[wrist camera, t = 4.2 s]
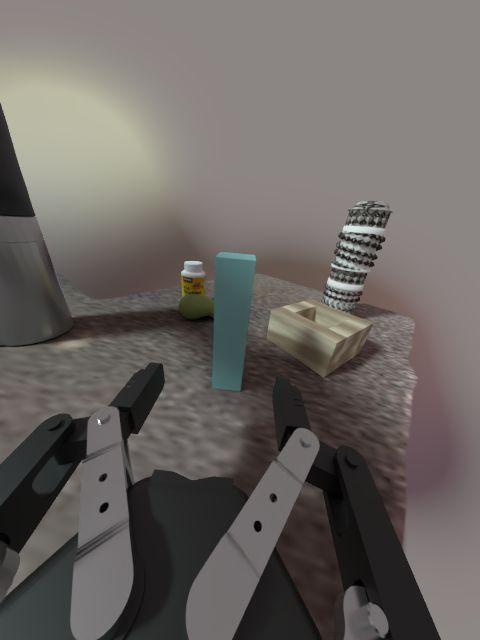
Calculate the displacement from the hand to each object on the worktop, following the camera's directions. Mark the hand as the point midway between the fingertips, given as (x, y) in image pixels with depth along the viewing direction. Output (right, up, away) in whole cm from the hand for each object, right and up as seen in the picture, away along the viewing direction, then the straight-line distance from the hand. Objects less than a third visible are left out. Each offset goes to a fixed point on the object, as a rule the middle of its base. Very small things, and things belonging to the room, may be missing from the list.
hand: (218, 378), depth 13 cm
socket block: (+15, -1, +22) cm, 26 cm away
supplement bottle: (-10, +8, +34) cm, 37 cm away
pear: (-7, +5, +29) cm, 30 cm away
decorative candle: (+26, +6, +37) cm, 46 cm away
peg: (0, -4, +12) cm, 13 cm away
